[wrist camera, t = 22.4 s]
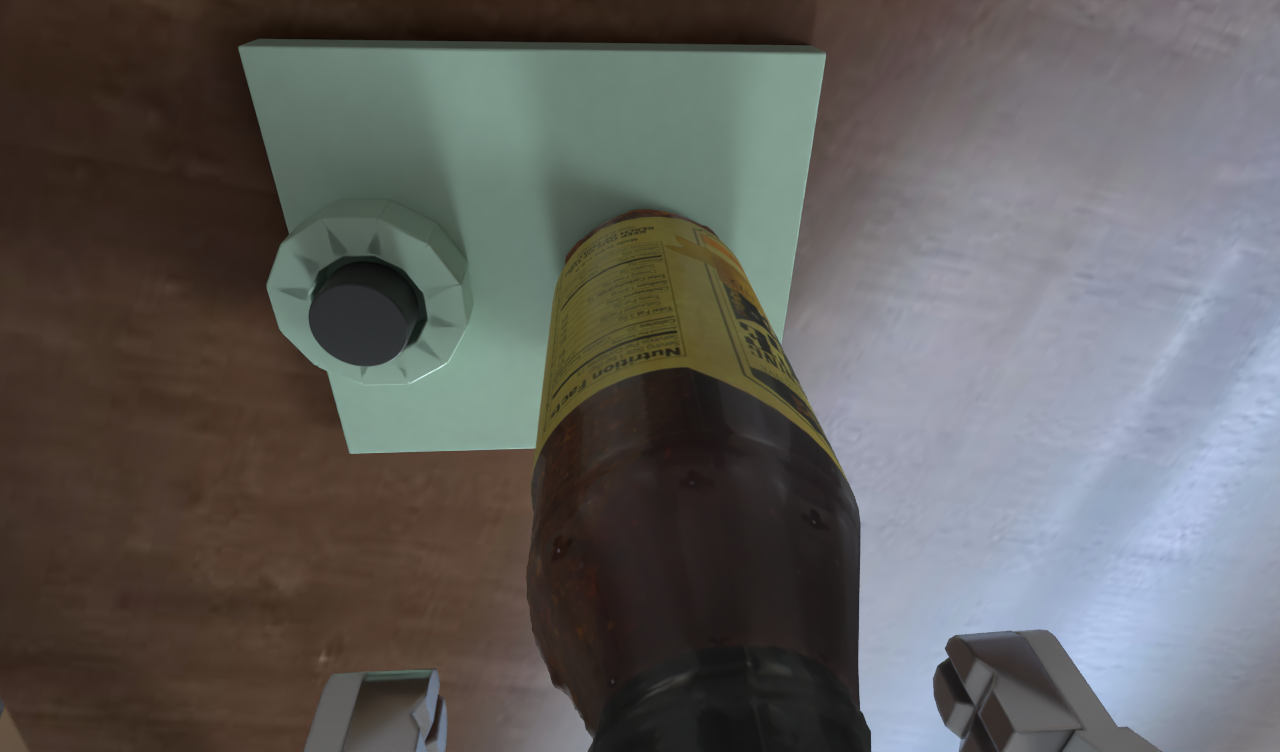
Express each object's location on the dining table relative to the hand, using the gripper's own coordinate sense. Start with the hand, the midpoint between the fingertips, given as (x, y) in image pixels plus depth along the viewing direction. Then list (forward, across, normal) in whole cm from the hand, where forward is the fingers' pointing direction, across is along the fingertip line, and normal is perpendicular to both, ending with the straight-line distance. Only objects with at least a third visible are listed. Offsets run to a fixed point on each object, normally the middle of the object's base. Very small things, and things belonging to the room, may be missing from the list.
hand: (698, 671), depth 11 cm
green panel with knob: (+16, +3, 0) cm, 16 cm away
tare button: (+13, +8, 0) cm, 15 cm away
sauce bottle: (+14, 0, 0) cm, 14 cm away
